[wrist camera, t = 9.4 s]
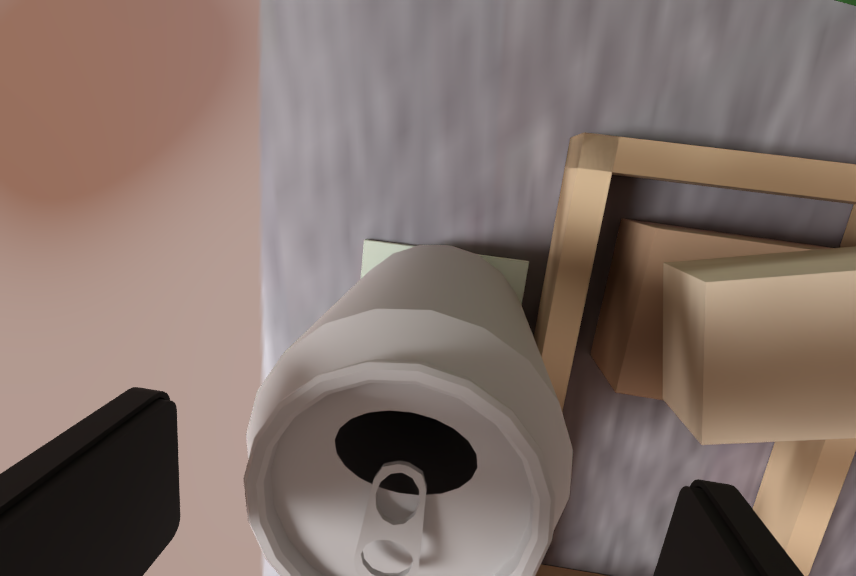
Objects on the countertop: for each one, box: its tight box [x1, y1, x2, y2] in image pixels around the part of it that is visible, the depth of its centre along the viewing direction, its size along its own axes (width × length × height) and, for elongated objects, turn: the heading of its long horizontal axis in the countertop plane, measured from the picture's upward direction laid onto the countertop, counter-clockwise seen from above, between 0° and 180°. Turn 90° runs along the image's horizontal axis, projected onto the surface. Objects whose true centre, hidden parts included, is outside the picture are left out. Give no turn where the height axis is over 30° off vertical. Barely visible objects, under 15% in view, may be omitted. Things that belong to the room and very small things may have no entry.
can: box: [244, 245, 573, 576], centre depth 15 cm, size 8×8×12 cm
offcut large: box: [590, 218, 831, 400], centre depth 18 cm, size 6×8×4 cm
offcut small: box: [663, 246, 856, 445], centre depth 15 cm, size 5×6×3 cm
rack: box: [534, 133, 856, 576], centre depth 18 cm, size 21×12×6 cm, turn 173°
